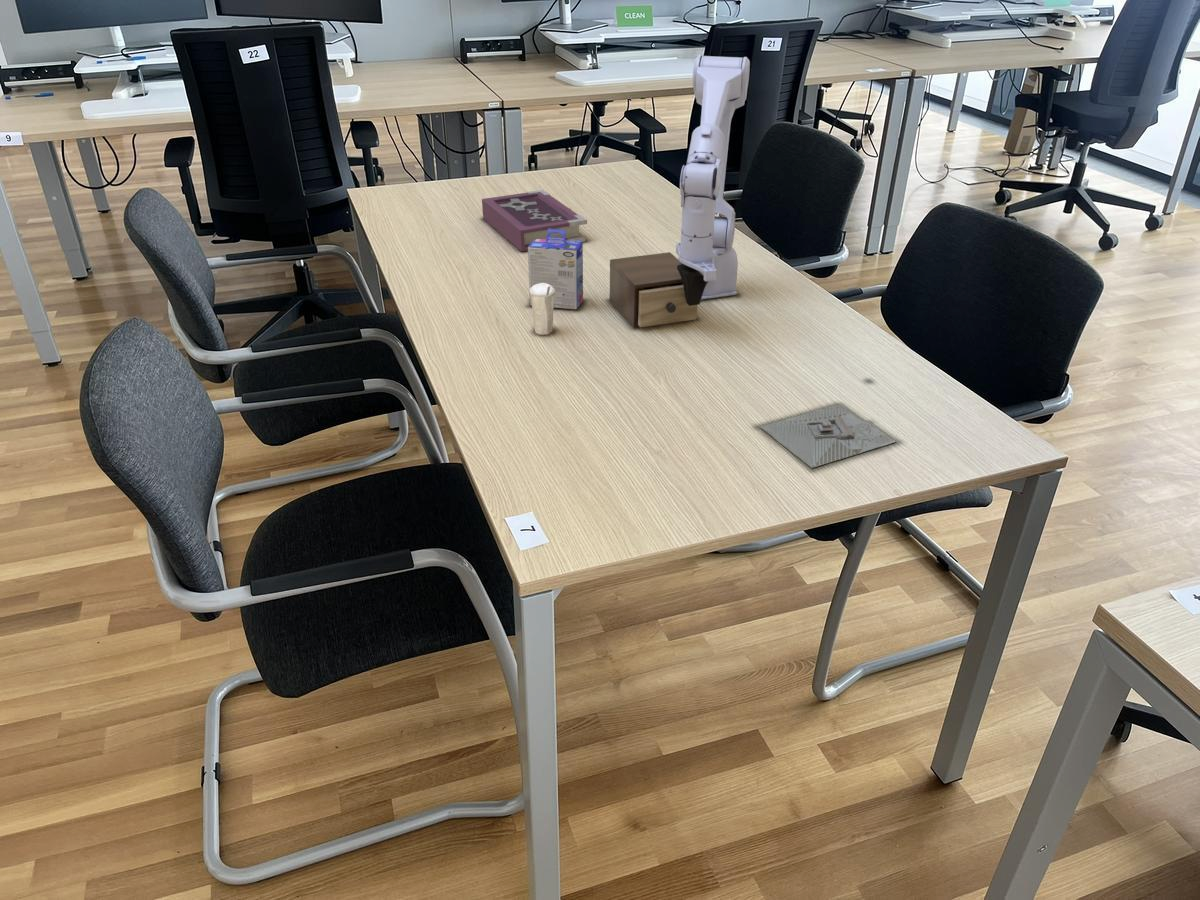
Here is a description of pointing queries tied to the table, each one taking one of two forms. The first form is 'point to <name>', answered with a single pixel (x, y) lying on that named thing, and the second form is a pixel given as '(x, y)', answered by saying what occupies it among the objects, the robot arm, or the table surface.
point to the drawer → (664, 306)
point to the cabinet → (639, 280)
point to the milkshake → (542, 307)
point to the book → (531, 218)
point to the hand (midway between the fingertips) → (693, 303)
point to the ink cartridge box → (558, 268)
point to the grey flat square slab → (826, 435)
